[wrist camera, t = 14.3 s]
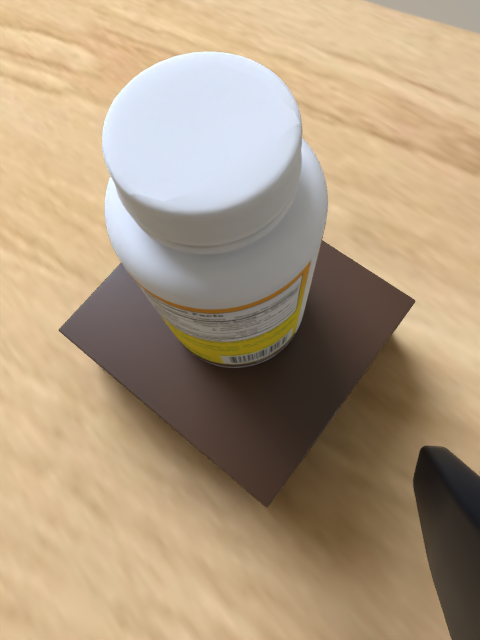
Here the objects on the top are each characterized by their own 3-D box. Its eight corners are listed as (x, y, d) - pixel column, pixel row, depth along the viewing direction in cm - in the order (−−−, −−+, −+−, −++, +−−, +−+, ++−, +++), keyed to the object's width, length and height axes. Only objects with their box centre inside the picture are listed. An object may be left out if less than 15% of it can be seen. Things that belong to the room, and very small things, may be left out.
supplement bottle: (214, 225, 19) (163, -15, 10) (327, 282, 18) (397, 76, 8) (143, 329, 18) (0, 173, 8) (259, 398, 17) (252, 310, 7)
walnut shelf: (267, 499, 19) (267, 508, 16) (93, 352, 22) (57, 330, 18) (389, 328, 22) (416, 300, 18) (218, 213, 24) (209, 166, 20)
